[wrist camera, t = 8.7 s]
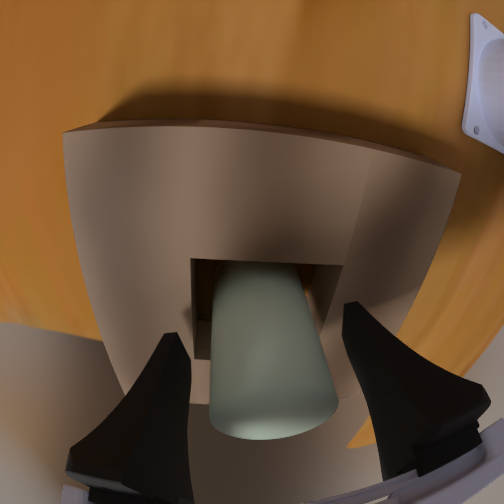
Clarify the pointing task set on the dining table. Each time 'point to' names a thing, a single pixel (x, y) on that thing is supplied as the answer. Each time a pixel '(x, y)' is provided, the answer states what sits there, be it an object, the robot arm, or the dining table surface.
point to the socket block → (245, 227)
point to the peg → (265, 354)
